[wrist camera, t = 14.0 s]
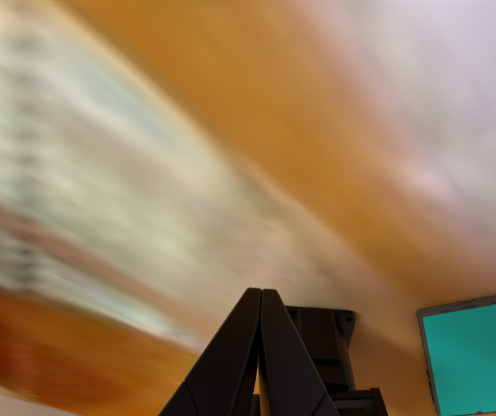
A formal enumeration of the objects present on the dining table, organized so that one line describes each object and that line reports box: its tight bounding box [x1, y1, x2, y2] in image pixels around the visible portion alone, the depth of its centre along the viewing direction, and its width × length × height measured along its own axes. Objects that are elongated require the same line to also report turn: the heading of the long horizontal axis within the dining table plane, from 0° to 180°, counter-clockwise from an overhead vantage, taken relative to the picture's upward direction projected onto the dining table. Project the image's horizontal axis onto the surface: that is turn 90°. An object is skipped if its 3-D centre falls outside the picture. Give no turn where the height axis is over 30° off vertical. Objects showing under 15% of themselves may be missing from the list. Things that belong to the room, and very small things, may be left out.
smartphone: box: [417, 295, 496, 416], centre depth 27 cm, size 7×1×15 cm
